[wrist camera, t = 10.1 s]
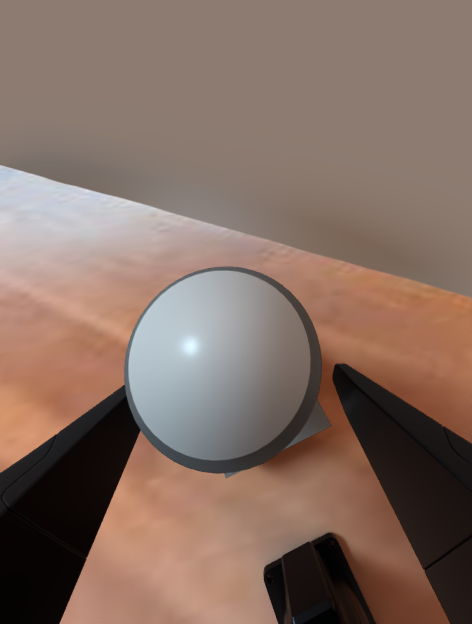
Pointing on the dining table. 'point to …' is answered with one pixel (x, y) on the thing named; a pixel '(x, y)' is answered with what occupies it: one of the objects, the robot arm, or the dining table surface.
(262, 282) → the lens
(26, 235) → the dining table surface
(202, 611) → the dining table surface
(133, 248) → the dining table surface
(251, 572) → the dining table surface
